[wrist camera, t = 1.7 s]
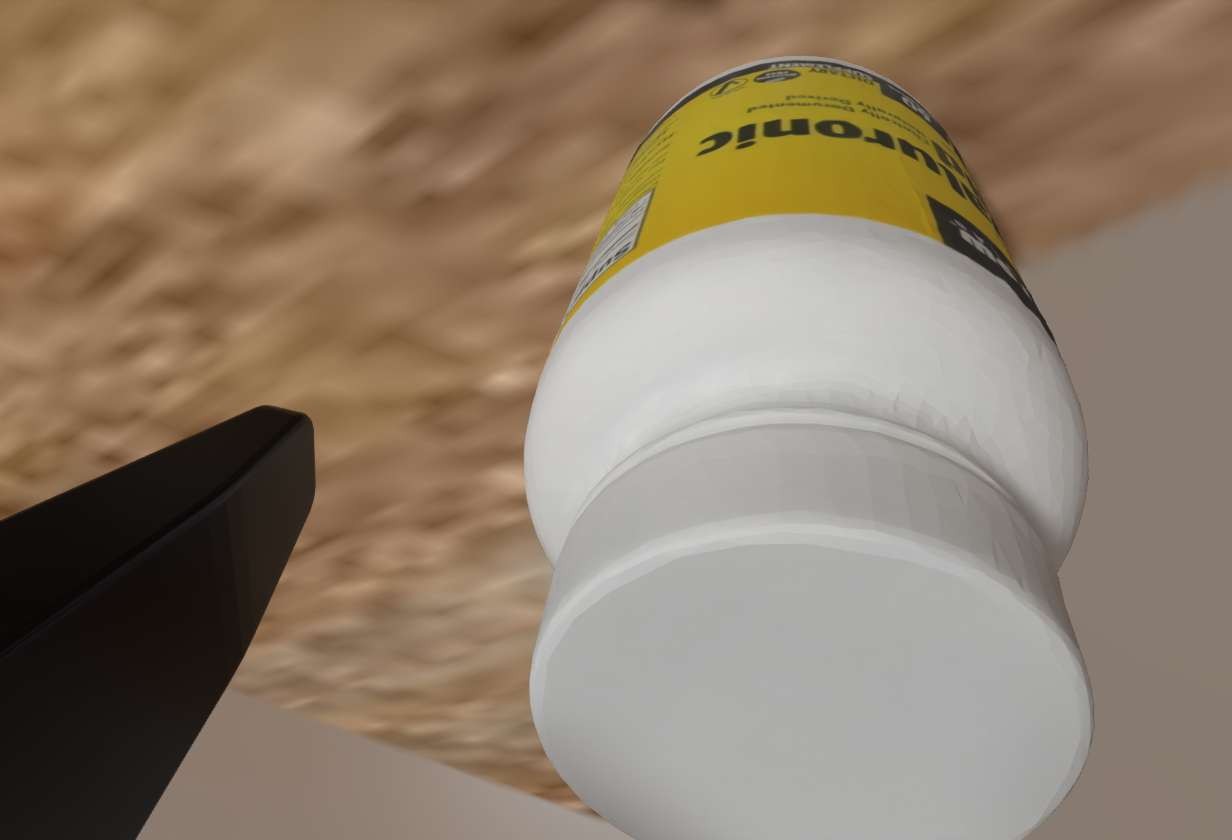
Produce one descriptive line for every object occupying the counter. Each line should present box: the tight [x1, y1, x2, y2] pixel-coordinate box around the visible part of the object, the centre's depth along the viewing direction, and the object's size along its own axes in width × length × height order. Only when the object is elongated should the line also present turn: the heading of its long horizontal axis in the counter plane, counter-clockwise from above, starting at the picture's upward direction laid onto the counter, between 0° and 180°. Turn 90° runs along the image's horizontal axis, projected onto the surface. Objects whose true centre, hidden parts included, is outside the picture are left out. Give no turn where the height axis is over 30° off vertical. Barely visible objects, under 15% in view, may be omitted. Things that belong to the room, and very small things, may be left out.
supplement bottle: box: [524, 56, 1094, 840], centre depth 11 cm, size 5×5×10 cm
